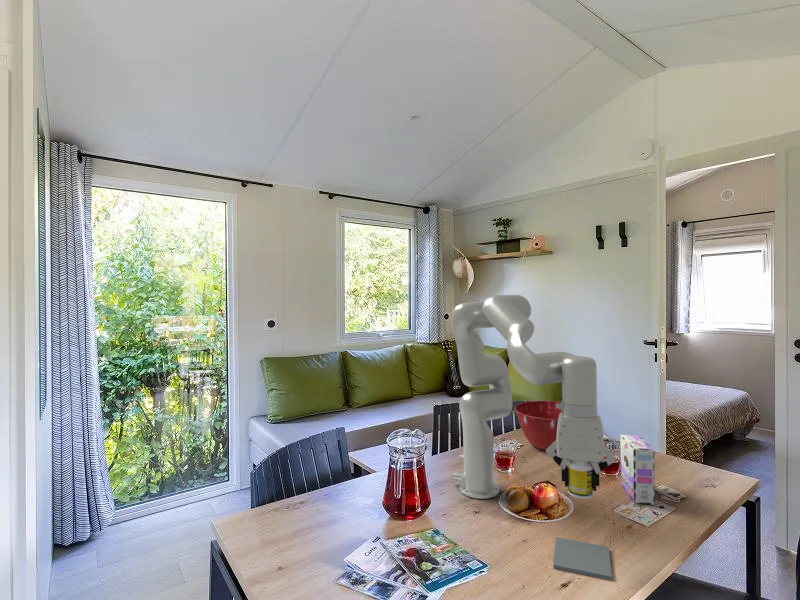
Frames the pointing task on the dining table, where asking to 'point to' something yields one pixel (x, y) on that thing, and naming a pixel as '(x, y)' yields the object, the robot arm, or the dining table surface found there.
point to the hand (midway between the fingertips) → (580, 485)
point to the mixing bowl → (539, 422)
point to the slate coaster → (582, 558)
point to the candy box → (637, 469)
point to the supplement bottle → (580, 479)
